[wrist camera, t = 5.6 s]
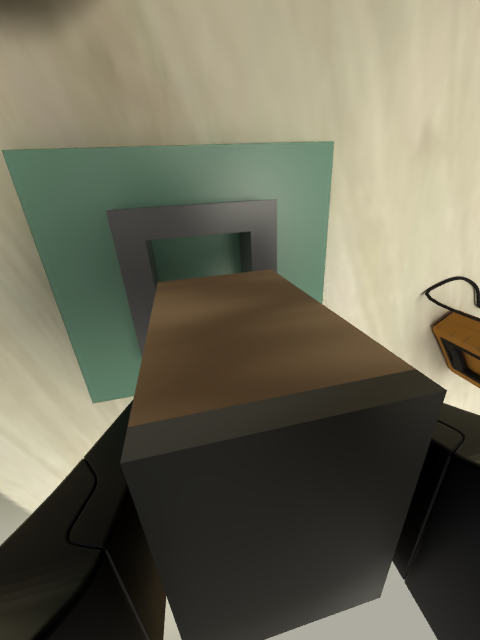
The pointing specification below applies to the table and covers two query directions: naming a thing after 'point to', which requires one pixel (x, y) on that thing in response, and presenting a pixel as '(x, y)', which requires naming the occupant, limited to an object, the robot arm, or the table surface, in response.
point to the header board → (165, 232)
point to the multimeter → (460, 338)
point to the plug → (270, 455)
